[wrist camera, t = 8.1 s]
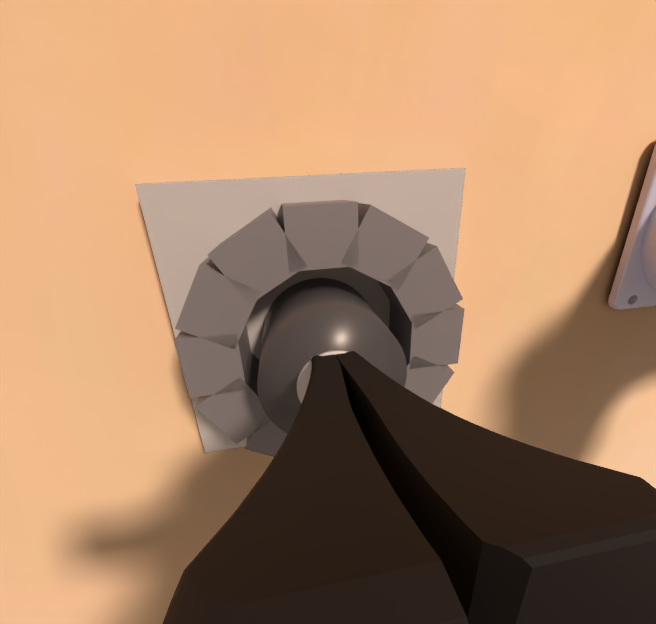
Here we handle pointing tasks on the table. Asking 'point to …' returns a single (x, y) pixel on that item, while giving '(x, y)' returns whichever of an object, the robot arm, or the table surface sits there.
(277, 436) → the segmented ring plate
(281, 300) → the grey cylinder
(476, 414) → the table surface
